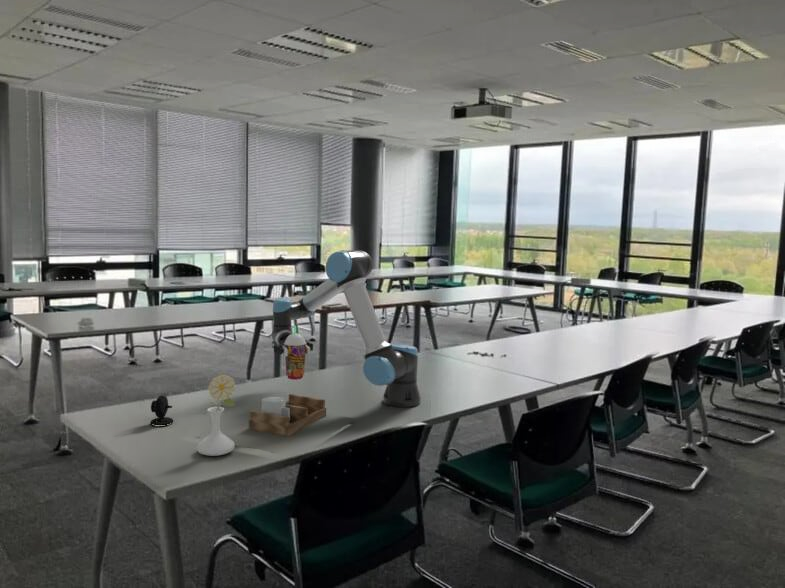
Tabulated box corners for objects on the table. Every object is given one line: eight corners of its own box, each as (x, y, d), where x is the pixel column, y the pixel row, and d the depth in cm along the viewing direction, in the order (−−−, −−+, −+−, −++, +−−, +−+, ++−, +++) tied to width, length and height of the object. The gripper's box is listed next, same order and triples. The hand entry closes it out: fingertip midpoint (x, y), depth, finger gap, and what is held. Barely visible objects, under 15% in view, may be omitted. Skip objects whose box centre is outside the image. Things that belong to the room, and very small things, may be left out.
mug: (256, 426, 212) (256, 401, 211) (270, 420, 220) (270, 395, 218) (282, 431, 208) (282, 405, 207) (295, 424, 215) (295, 399, 214)
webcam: (155, 419, 222) (155, 392, 221) (176, 420, 222) (176, 393, 220) (146, 427, 214) (145, 398, 213) (168, 427, 214) (167, 399, 213)
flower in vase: (188, 455, 190) (187, 375, 187) (212, 443, 200) (211, 367, 197) (224, 462, 185) (224, 380, 182) (246, 449, 196) (246, 371, 193)
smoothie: (288, 381, 233) (288, 328, 230) (281, 376, 240) (281, 325, 238) (309, 379, 237) (309, 327, 234) (302, 374, 244) (302, 323, 242)
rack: (326, 419, 226) (326, 399, 225) (288, 440, 204) (288, 418, 203) (289, 413, 233) (289, 393, 232) (248, 432, 211) (248, 411, 210)
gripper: (311, 348, 258) (324, 360, 237) (260, 351, 251) (270, 363, 229) (311, 330, 257) (324, 340, 236) (260, 332, 250) (270, 343, 229)
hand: (297, 352), depth 233 cm, fingers closed on smoothie, 8 cm apart
